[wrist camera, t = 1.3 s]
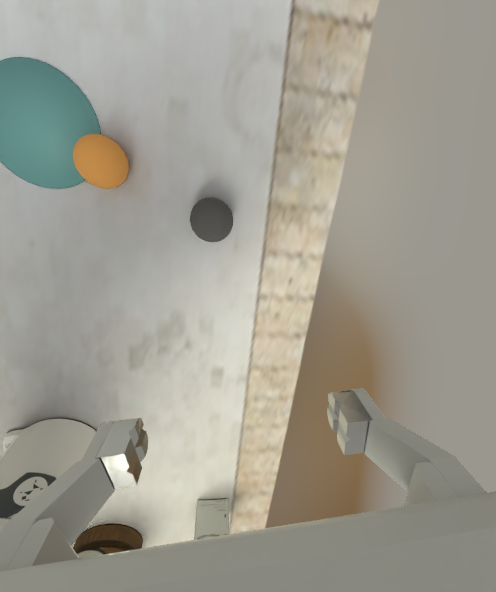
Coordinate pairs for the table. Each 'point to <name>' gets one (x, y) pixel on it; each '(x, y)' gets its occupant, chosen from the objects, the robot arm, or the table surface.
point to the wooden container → (107, 540)
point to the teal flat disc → (42, 122)
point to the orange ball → (100, 161)
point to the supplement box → (211, 518)
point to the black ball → (211, 219)
